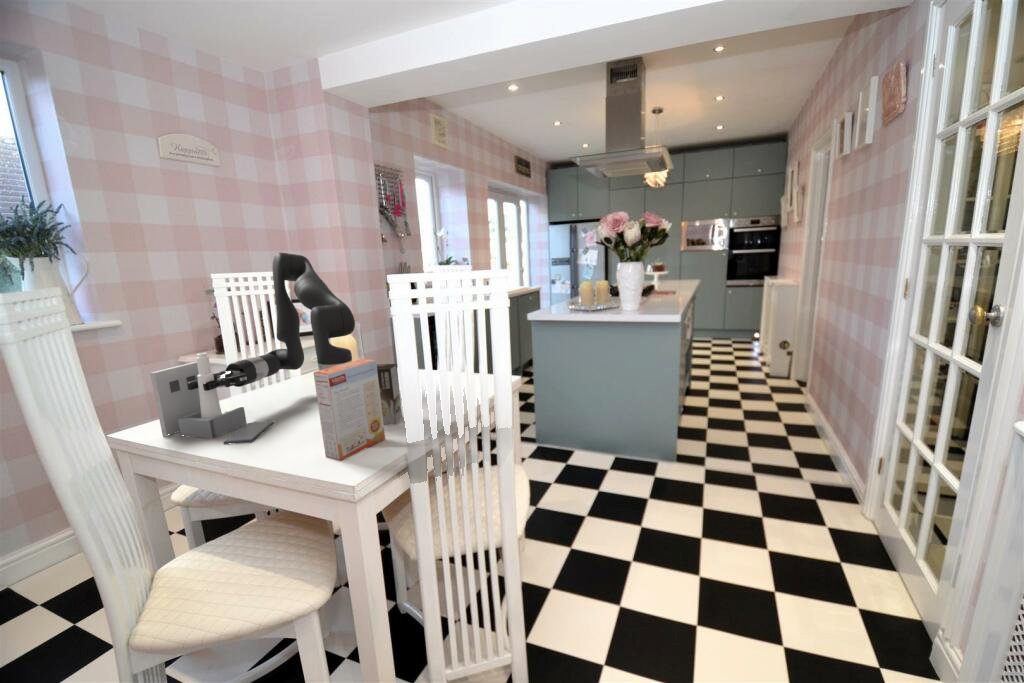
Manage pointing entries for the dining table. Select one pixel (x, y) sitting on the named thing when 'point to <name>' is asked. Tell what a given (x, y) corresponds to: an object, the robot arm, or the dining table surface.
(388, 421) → the coffee box
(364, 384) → the cracker box
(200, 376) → the cosmetic bottle
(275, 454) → the dining table surface
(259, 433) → the phone
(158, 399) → the outlet dock
